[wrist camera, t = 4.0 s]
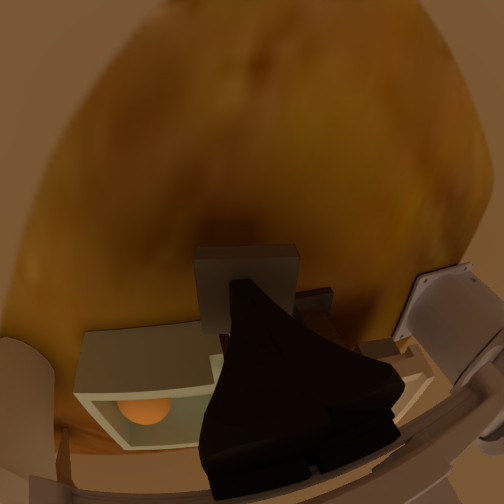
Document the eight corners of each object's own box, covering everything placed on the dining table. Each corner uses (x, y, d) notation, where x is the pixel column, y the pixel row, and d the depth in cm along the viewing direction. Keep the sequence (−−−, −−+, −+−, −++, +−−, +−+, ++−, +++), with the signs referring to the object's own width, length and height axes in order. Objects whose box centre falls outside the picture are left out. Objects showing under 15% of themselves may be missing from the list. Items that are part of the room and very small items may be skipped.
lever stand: (330, 287, 19) (371, 342, 14) (307, 379, 25) (329, 425, 20) (275, 296, 18) (308, 361, 14) (266, 388, 24) (285, 438, 19)
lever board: (442, 225, 14) (495, 271, 10) (375, 381, 22) (393, 426, 17) (200, 225, 13) (186, 293, 9) (220, 399, 21) (221, 453, 16)
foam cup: (86, 398, 19) (86, 531, 9) (12, 390, 17) (-4, 502, 6) (42, 322, 15) (5, 504, 4) (-36, 319, 12) (-84, 451, 2)
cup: (214, 318, 18) (229, 381, 14) (223, 391, 22) (235, 440, 18) (85, 331, 16) (72, 393, 12) (124, 400, 20) (124, 449, 16)
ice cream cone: (76, 440, 23) (80, 545, 11) (37, 422, 20) (33, 533, 8) (96, 431, 23) (103, 551, 10) (53, 411, 20) (49, 540, 7)
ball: (149, 416, 14) (97, 395, 14) (164, 440, 16) (117, 421, 16) (173, 368, 17) (124, 353, 18) (183, 398, 19) (139, 383, 20)
